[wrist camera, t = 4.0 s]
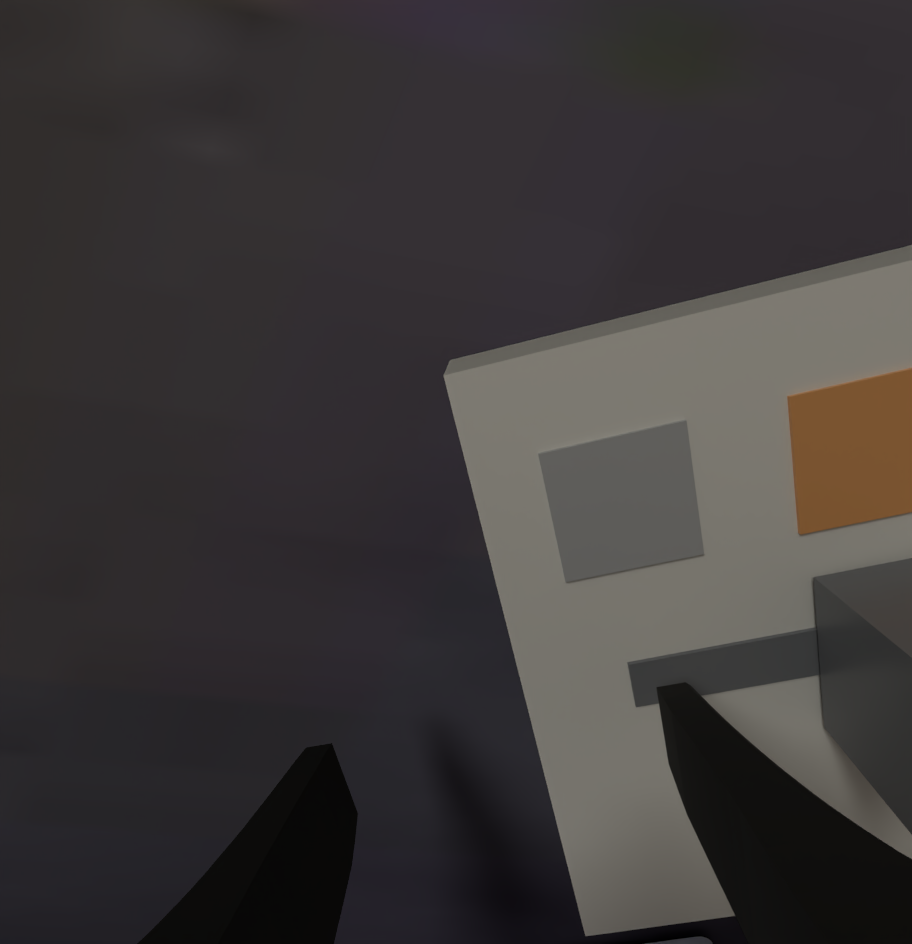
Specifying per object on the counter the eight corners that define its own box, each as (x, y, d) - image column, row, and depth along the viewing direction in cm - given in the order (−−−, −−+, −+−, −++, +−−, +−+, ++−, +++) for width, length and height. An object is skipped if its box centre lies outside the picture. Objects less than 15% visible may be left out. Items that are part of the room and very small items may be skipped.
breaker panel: (1023, 766, 17) (1139, 865, 14) (568, 837, 18) (585, 940, 15) (1052, 210, 13) (1230, 182, 10) (450, 360, 14) (443, 376, 11)
